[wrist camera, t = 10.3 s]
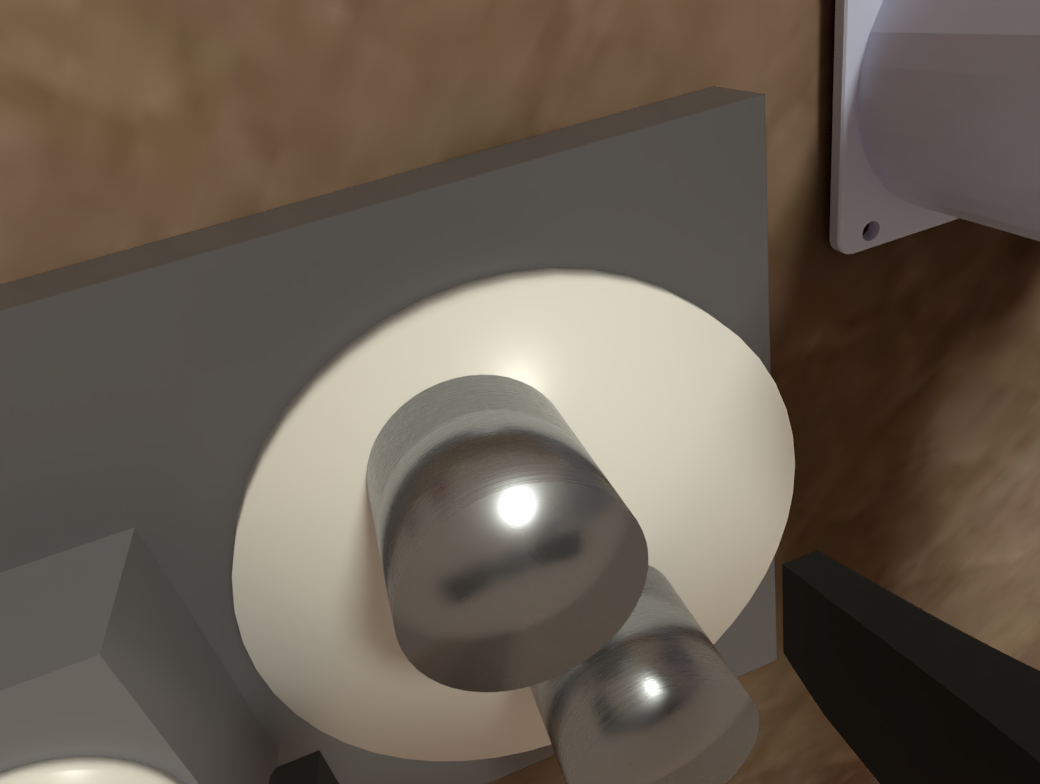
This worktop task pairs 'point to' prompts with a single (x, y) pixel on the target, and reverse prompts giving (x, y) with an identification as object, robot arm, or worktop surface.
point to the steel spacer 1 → (498, 537)
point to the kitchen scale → (371, 445)
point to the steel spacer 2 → (650, 703)
